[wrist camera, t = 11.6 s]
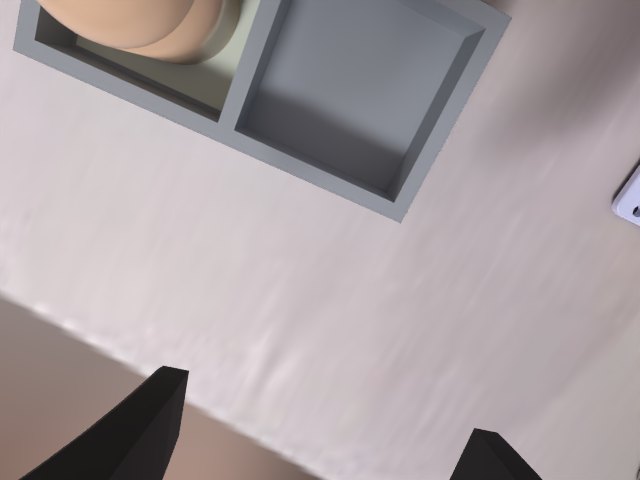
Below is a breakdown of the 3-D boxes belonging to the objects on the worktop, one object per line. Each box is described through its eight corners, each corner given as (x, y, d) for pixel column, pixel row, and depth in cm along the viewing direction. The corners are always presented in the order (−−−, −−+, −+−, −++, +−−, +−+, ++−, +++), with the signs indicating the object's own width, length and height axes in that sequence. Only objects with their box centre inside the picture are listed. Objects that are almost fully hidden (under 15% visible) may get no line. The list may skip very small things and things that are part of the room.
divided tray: (481, 31, 15) (512, 17, 13) (389, 206, 17) (400, 222, 15) (109, -168, 13) (59, -230, 11) (61, 58, 15) (12, 50, 13)
